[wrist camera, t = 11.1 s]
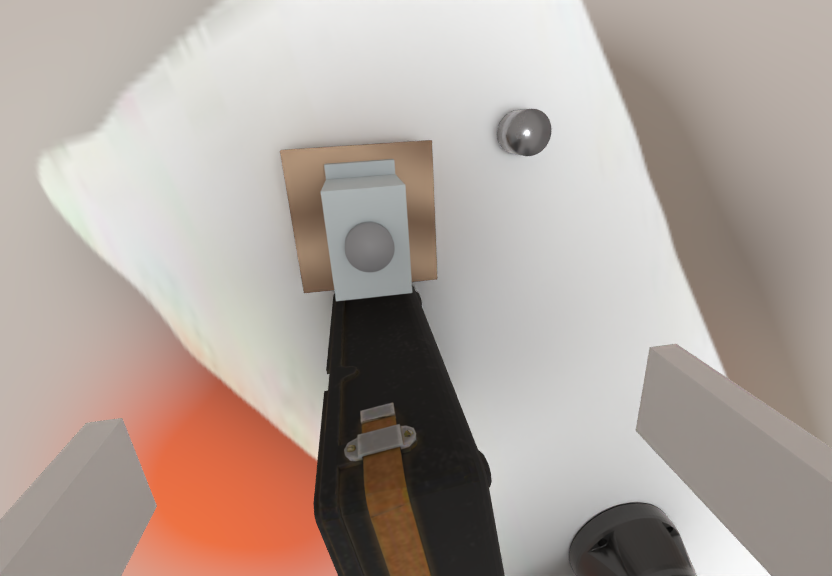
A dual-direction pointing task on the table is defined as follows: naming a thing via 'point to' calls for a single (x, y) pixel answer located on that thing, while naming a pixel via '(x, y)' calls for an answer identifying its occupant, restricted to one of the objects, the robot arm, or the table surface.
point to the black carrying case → (398, 452)
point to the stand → (308, 215)
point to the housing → (366, 229)
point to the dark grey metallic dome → (524, 132)
